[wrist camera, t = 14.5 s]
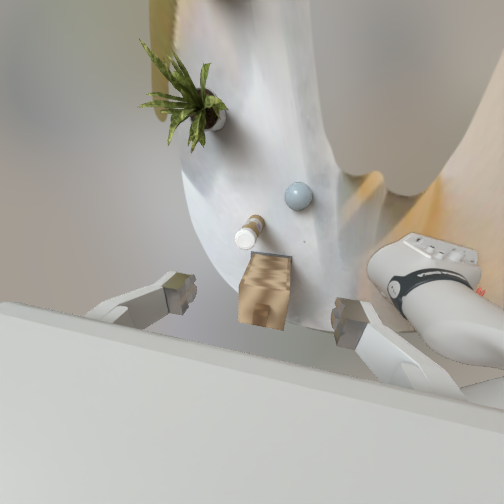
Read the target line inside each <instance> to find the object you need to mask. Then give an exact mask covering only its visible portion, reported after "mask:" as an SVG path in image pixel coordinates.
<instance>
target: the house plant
mask: <svg viewBox="0 0 504 504" xmlns="http://www.w3.org/2000/svg"><path fill="white" fill-rule="evenodd" d="M140 42H141V44H142V45H143V47H144V49H145V50H146V52H147V53H148V55H149V56H150V58H151V59H152V61H153V62H154V63H155V65H156V66H157V67H158V68H159V70H160V71H161V72H162V73H163V75H164V76H165V77H166V78H167V79H168V80H169V81H170V82H171V83H172V85H173V86H174V87H175V88H176V89H177V90H178V91H179V92H181V94H182V96H183V98H181V97H175V96H171V95H168V94H165V93H160V92H154V93H148V94H147V95H152V96H160V97H164V98H168V99H173V100H178V101H182V102H169V101H161V100H153V101H150V102H148V103H145V104H142V105H141V106H139V107H165V108H169V109H165V110H161V111H160V113H168V114H173V115H172V116H171V125H170V130H169V137H168V145H169V143H170V141H171V139H172V136H173V133H174V131H175V129H176V128H177V126H178V125H179V124H180V123H182V122H183V121H184V120H186V119H187V118H188V117H189V119H190V121H191V123H192V124H191V127H190V136H189V140H188V146H189V143H190V141H191V139H192V141H193V143H192V148H191V153H192V151H193V150H194V148H195V146H196V144H197V143H198V141H199V142H200V143H201V145H202V146H203V147H204V145H205V133H204V131H216V130H220V129H221V128H222V127H223V126H224V124H225V122H226V113H225V109H227V107H226V106H225V104H224V103H223V102H221V101H222V100H220V99H219V98H218V97H217V96H216V94H215V93H214V92H213V91H212V90H211V89H210V88H208V87H205V84H206V79H207V75H208V70H209V66H210V64H212V63H208V64H204V63H203V67H202V69H201V77H200V85H201V86H200V87H197V88H195V86H194V84H193V82H192V80H191V78H190V76H189V74H188V72H187V70H186V68H185V67H184V65H183V64H182V62H181V61H180V59H179V58H178V57H177V55H176V54H175V53H174V52H173V50H172V49H171V50H172V52H173V55H174V57H175V58H176V60H177V63H178V65H179V67H180V68H179V67H178V66H177V64H176V63H175V62H174V61H173V60H172V58H171V57H170V56H169V55H168V54H167V53H166V55H167V57H168V58H169V60H170V61H171V63H172V65H173V66H174V68H175V69H176V71H173V74H172V73H171V72H170V70H169V68H168V66H167V63H166V61H165V59H164V63H165V65H164V64H163V63H162V62H161V60H160V59H159V58H158V57H157V56H156V55H155V54H154V53H153V52H152V51H150V49H149V48H148V47H147V46H146V45H145V43H143V42H142V41H141V40H140ZM180 69H181V70H182V71H181V70H180ZM182 72H183V73H182ZM183 74H184V75H183ZM185 102H187V103H185ZM170 108H184V109H170ZM227 110H228V109H227ZM186 115H187V116H186ZM185 116H186V117H185ZM184 117H185V118H184Z"/></svg>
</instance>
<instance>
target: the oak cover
mask: <svg viewBox="0 0 504 504" xmlns="http://www.w3.org/2000/svg"><path fill="white" fill-rule="evenodd" d="M290 264H291V258H283V257H275V256H268V255H260V254H253V255H252V257H251V259H250V262H249V264H248V266H247V268H246V271H245V273H244V275H243V277H242V280H241V282H240V284H239V317H238V318H239V320H238V321H239V322H241V323H246V324H251V325H257V326H262V327H267V328H272V329H277V330H282V331H283V330H284V325H285V319H286V313H287V307H288V302H289V296H290Z"/></svg>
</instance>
